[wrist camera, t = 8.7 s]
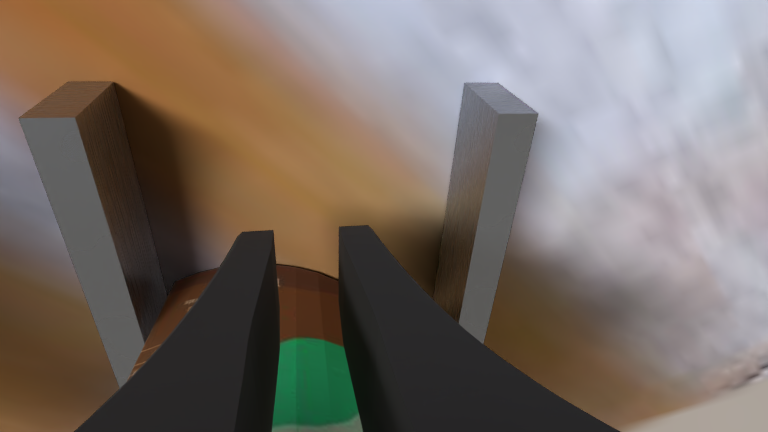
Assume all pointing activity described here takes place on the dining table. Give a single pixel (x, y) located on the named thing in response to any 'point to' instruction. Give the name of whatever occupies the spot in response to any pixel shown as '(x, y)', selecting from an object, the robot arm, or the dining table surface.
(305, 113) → the dining table surface
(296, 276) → the food container
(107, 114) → the dock
